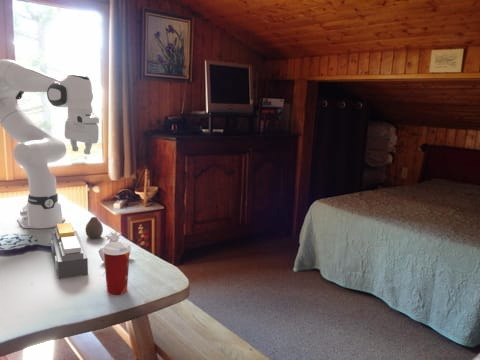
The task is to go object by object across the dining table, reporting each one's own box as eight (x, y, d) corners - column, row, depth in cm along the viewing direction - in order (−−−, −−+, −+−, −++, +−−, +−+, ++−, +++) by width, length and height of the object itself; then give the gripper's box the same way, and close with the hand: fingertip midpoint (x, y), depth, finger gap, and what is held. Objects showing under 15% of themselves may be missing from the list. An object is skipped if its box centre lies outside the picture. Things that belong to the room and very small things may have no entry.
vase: (97, 241, 167) (97, 221, 165) (82, 239, 168) (81, 219, 167) (106, 235, 174) (105, 216, 172) (91, 234, 175) (91, 214, 173)
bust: (129, 261, 154) (123, 233, 158) (135, 254, 149) (129, 226, 153) (98, 267, 147) (92, 238, 151) (103, 261, 142) (96, 231, 146)
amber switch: (56, 227, 156) (56, 223, 156) (70, 226, 159) (70, 222, 158) (59, 237, 146) (59, 233, 146) (74, 236, 148) (74, 231, 148)
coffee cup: (135, 291, 127) (135, 246, 124) (112, 299, 120) (111, 252, 118) (121, 282, 132) (121, 239, 129) (97, 290, 126) (97, 244, 123)
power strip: (50, 247, 157) (50, 228, 156) (76, 244, 162) (76, 225, 160) (57, 279, 131) (56, 256, 130) (87, 274, 136) (87, 252, 134)
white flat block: (61, 241, 142) (60, 237, 141) (76, 240, 144) (76, 235, 144) (64, 254, 131) (64, 249, 131) (80, 251, 134) (80, 247, 134)
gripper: (59, 115, 160) (60, 149, 162) (85, 119, 146) (86, 156, 149) (75, 115, 164) (76, 149, 167) (101, 119, 151) (101, 155, 154)
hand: (81, 152), depth 158 cm, fingers open, 8 cm apart
